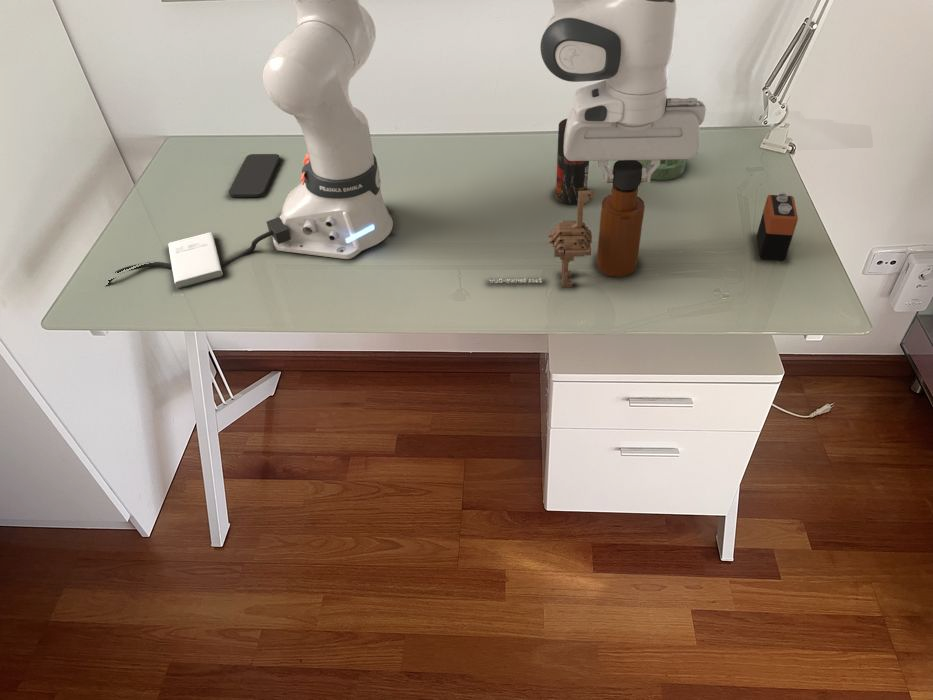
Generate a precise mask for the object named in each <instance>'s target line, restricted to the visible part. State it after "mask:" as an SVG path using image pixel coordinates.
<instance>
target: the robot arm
mask: <svg viewBox="0 0 933 700" xmlns="http://www.w3.org/2000/svg"><path fill="white" fill-rule="evenodd" d="M551 1H552V4H553V14H552V16H551V18H550V19H549V21H548V24H547V25H546V27H545V30H544V32H543V34H542V37H541V40H540V46H539V47H540V55H541V59H542V62H543V63H544V65H545V67H546V68H547V69H548V71H549V72H550V73H551V74H552V75H553V76H555V77H557V78H558V79H560V80H562V81H566V82H572V83H580V82H585V83H586V82H596V83H593V84H592V83H591V84H589V85H587V86H583V87H580V88H578V89H576V90H575V93H574V97H573V108H572V109H571V110H570V111H569V112H568V113H569V114H568V116H567V118H568V119H567V118H566V119H567V123H566V128H565V134H564V145H563V149H564V156H565V157H566V158H567V160H569V161H589V162H597V164H598V167H599V170H601V171H600V172H602V174H603V175H602V177H603V184H612V183H613V178H614V172H613V168H612V167H608V164H609V161H618V160H650V163H649V164H648V165H647V167H646V168H642V173H641V181H640V184H641V183H642V184H643V183H647V184H648V183H651V180H652V179H651V174H652V173H653V172H654V171H655V170H656V169H657V167H658V166H659V165H660V160H668V159H686V160H692V159H693V158H695V156H696V155H697V154H698V153H699V146H700V126H701V125H702V124H703V122H704V121H705V117H706V112H707V107H706V104H705V103H703V101H701V100H698V98H696V97H687V98H679V97H668V91H669V85H670V84H669V83H670V74H669V64H670V61H671V59H672V57H673V54H674V49H675V44H676V43H675V42H676V33H677V24H678V23H677V21H678V20H677V18H678V9H677V1H676V0H551ZM292 2H293V5H294V7H295V11H296V15H297V21H296V26H295V28H294V29H293V30H292V31H291V32H290V33H289V34H287V36H285V38H283V40H281V41H280V42H279V43H278V44H277V45H276V46H275V47H274V49H273V51H272V53H271V54H270V56H269V58H268V59H267V61H266V64H265V65H264V68H263V71H262V84H263V87H264V90H265V92H266V94H267V97H268V98H269V99H270V100H271V102H272V103H273V104H274V105H275V106H276V107H277V108H278V109H280V110H281V111H282V112H283V113H286V114H287V115H288V114H289V115H291V116H293V117H294V118H295V119H296V121H297V123H298V125H299V127H300V129H301V131H302V135H303V138H304V142H305V146H306V150H307V153H306V154H305V156H304V158H303V166H302V169H301V176H300V180H301V182H300V183H299V184H298V185H296V186H294V188H292V189H291V190H290V192H289V193H288V194H287V196H286V198H285V200H284V202H283V205H282V208H281V209H282V210H281V214H280V215H279V216H278V217H277V216H276V217H275V218H273V219H269V220H267V221H266V226H267V229H268V231H266V232H265V233H262V234H260V235H259V236H257V237H255V238H254V239H253V240H252V241H251V245H250V247H249V248H247V249H245V250H244V251H243V252H241V253H240V254H239V255H236V256H234V257H232V258H230V259H227V260H225V261H222V262H220V266H221V268H223V267H226V266H227V265H229V264H231V263H233V262H235V261H236V260H239V259H240V258H243V257H245V256H248V255H249V254H251V253H252V252H253V251H254V250H255V249H256V247H257V244H258V243H259V242H261V241H263V240H265V239H267V238H269V237H271V236H272V241H273V242H272V243H273V246H274V248H275V249H276V250H277V251H280V252H285V253H292V254H301V255H309V256H310V255H311V256H318V257H326V258H332V259H333V258H334V259H342V260H351V259H353V258H355V257H356V256H358V255H359V254H360V253H361V252H362V251H365V250H367V249H369V248H372V247H374V246H377V245H378V244H380V243H381V242H383V241H384V240H385V239H386V238H388V236H389V235H391V232H392V230H393V226H394V221H393V218H392V217H391V215H390V213H389V210H388V208H387V206H386V203H385V200H384V198H383V194H382V190H381V184H382V183H381V174H380V168H379V166H378V161H377V157H376V155H375V153H374V150H373V144H372V138H371V133H370V125H369V121H368V118H367V116H366V115H365V113H364V112H363V111H361V110H360V109H358V108H357V107H355V106H354V105H353V102H352V101H351V97H350V94H349V86H350V81H351V80H352V78H353V77H354V76H355V75H356V74H357V73H358V72H359V70H360V69H361V68H362V67H363V66H364V65H365V64H366V63H367V61H368V59H369V57H370V55H371V53H372V50H373V48H374V45H375V42H376V37H377V32H376V31H377V29H376V25H375V22H374V20H373V18H372V16H371V14H370V13H369V12H368V11H367V9H366V8H365V7H364V6H362V5H361V3H360V1H359V0H292ZM597 81H599V82H597ZM150 262H151V261H150ZM150 262H149V261H148V263H149V264H144V265H141V266H139V267H136V268H134V269H131V270H129V271H128V272H130V271H134V270H140V269H145V268H152V267H159V268H161V267H162V268H167V269H171V270H172V265H171V263H168V262H163V261H153V262H154V263H150ZM137 264H138V265H139V264H140V263H137ZM137 264H132V265H127V266H124V267H122V268H120V269H118V270H116V271H114V272H115V273H116V272H117V273H119V272H121V271H123V270H124V269H125V270H126V269H129V268H131V267H133V266H136V265H137ZM114 279H115V278H113V279H111V280H108V281H109V283H108V284H109V285H110V284H111V283H112V282H113V280H114ZM109 285H106V286H105V287H108V286H109Z"/></svg>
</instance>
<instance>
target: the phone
mask: <svg viewBox="0 0 933 700" xmlns="http://www.w3.org/2000/svg"><path fill="white" fill-rule="evenodd" d="M280 160H281V158H280V154H277V153H251V154H248V155H246V156H245V158H244V160H243V162H242V165H241V166H240V168H239V170H238V172H237V175H236V176H235V178H234V180H233V181H232V184H231V186H230V187H229V190H228V194H229V197H230V198H262V197H263V196H264V195H265V194H266V192H267V189H268V187H269V185H270V183H271V180H272V178H273V177H274V174H275V172H276V169H277V167H278V165H279V163H280Z"/></svg>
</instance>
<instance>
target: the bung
mask: <svg viewBox="0 0 933 700" xmlns="http://www.w3.org/2000/svg"><path fill="white" fill-rule="evenodd" d="M613 172H614V178H613V183H611V184H613V185H614V186H615V187H616V188H618V189H619V191H622V192H630V191H632V190H633V189H636V188H637V187H638V188H639V186H640V185H641V183H640V181H641V173H642V164H641V163H640V162H638V161H637V160H615V162H614V163H613Z"/></svg>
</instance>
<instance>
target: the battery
mask: <svg viewBox="0 0 933 700" xmlns="http://www.w3.org/2000/svg"><path fill="white" fill-rule="evenodd" d="M798 220H799V215H798V211H797V206H796V201H795V197H794V196H793V195H788V194H786V193H783V192H781V193H778V194H768V195H767V196H766V200H765V204H764V207H763V211H762V215H761V218H760V221H759V226H758V229H757V232H756V243H757V250H758V251H757V252H758V257H759V259H760V260H769V261H785V260H786V259H787V255H788V252H789V249H790V246H791V242H792V239H793V237H794V233H795V231H796V227H797V223H798Z"/></svg>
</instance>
